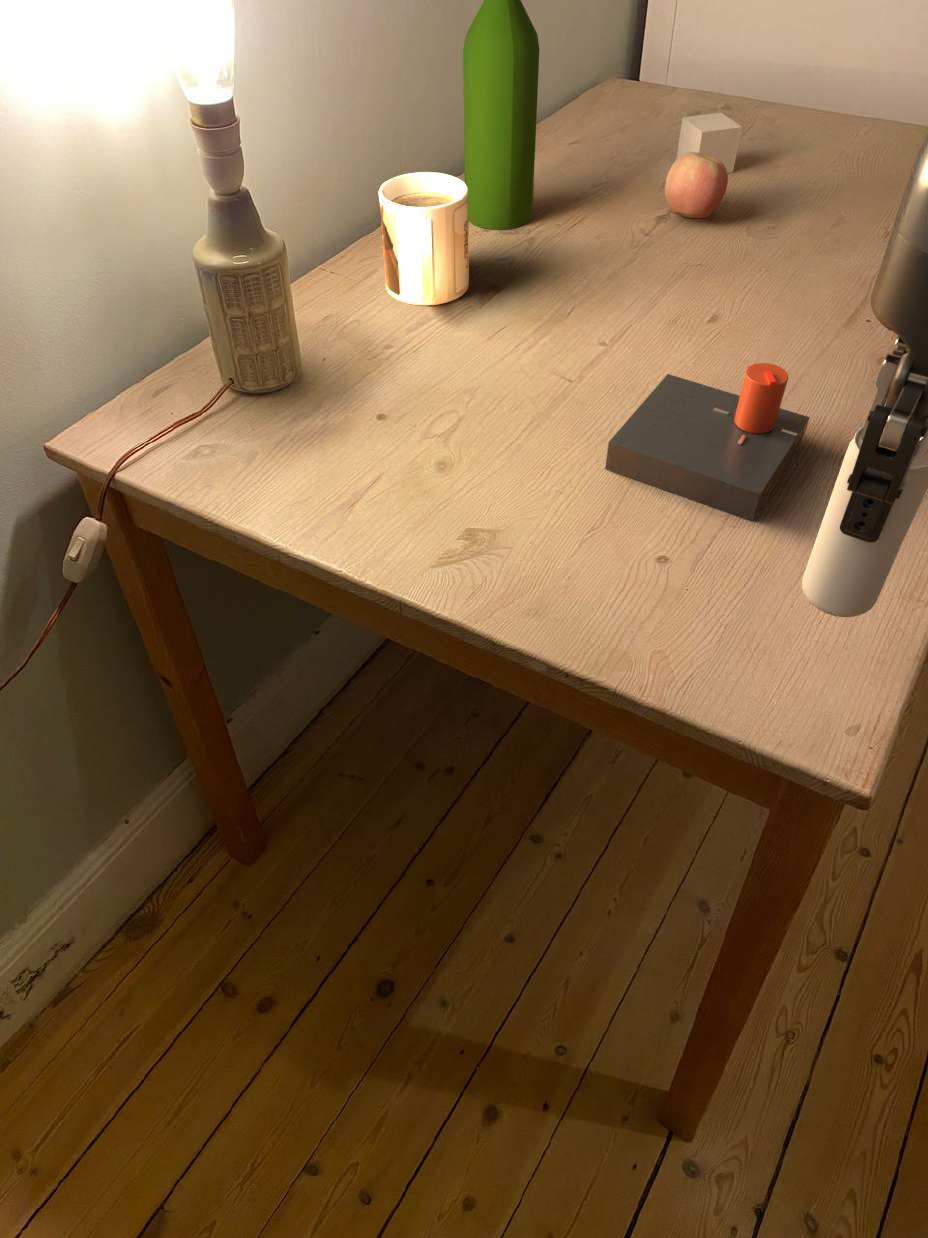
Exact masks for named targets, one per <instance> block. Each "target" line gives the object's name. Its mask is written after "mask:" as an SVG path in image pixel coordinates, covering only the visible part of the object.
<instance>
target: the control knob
mask: <svg viewBox="0 0 928 1238" xmlns="http://www.w3.org/2000/svg"><path fill="white" fill-rule="evenodd" d="M788 380H789V373H788V372H787V370H785V369H784V368H783V367H781V366H780V365H779V366H778V365H776V364H774V363H767V362H758V363H754V364H751V365H749V366H748V367H747V368H746V370H745V374H744V377H743V382H742V385H741V390H740V394H739V396H740V397H739V402H738V406H737V410H736V414H735V418H734V421H735V424H736V425H737V426H738V427H739V428H740V429H742V430H744V431H746V432H749V433H755V434H762V433H767V432H769V431H771V430H772V429H773V428H774V426H775V423H776V420H777V416H778V413H779V409H780V408H781V406H782V402H783V398H784V395H785V392H786V387H787V384H788Z"/></svg>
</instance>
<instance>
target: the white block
mask: <svg viewBox="0 0 928 1238" xmlns="http://www.w3.org/2000/svg"><path fill="white" fill-rule="evenodd" d="M742 128H743V127H742V126H741V125H740V124H738V123H737V122H735V121H734V120H733V119H731V118H729V116H727V115H725V114H724V113H722V112H715V113H707V114H698V115H697V114H696V115H690V116H689V115H688V116H682V120H681V125H680V133H679V139H678V146H677V153H676V159H675V161H676V160H677V159H678V158H679V157H680V156H682V155H684V154H686V153H689V152H697V153H704V154H708V155H710V156H712V157H714V158H716V159H718V160H720V161H721V162H722V163H723V164H724V166H725V167H726V170H727V174H730V173H734V169H735V164H736V163H735V162H736V159H737V153H738V148H739V143H740V138H741V134H742Z"/></svg>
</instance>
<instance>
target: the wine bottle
mask: <svg viewBox="0 0 928 1238" xmlns="http://www.w3.org/2000/svg"><path fill="white" fill-rule="evenodd" d="M539 42H540V41H539V35H538V33H537V30H536V28H535V26H534V24H533V22H532V20H531V19H530V16H529V14H528V12H527V10H526V8H525V6H524V4H523V2H522V0H482V3H481V4H480V7H479V8H478V10H477V12H476V14H475V16H474V18H473V20H472V22H471V24H470V26H469V28H468V30H467V31H466V34H465V38H464V43H463V49H462V70H463V71H462V74H463V75H462V76H463V77H462V78H463V85H462V86H463V170H464V171H463V172H464V173H463V175H464V180H463V182H464V183H465V184H466V185H467V187H468V214H469V223H470V224H472V225H473V226H476V227H479V228H482V229H487V230H494V231H496V230H499V231H502V230H503V231H504V230H511V229H516V228H519V227H521V226H524V225H525V224H527V223H528V222H530V220H531V219H532V216H533V212H534V211H533V207H534V187H535V186H534V184H535V165H536V164H535V163H536V141H537V140H536V139H537V116H538V115H537V114H538V95H539V92H538V91H539V69H540V68H539V67H540V43H539Z"/></svg>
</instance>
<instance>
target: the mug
mask: <svg viewBox="0 0 928 1238" xmlns="http://www.w3.org/2000/svg"><path fill="white" fill-rule="evenodd" d="M378 204H379V215H380V217H379V218H380V229H381V241H382V255H383V267H384V280H385V289H386V291H387V293H388V294H389V295H390V296H391V297H392V298H394V299H396V300H397V301H399V302H401V303H404V304H409V305H415V306H435V305H443V304H446V303H450V302H452V301H454V300H457V299H459V298H460V297H462V296H463V295H464V294H466V292H467V291H468V289H469V287H470V245H469V244H470V242H469V241H470V237H469V236H470V235H469V234H470V233H469V231H470V230H469V229H470V228H469V227H470V226H469V223H470V222H469V214H468V187H467V185H466V184H465V183H464V180H462V179H460V178H458V177H456V176H453V175H451V174H447V173H441V172H431V171H419V172H411V173H410V172H409V173H405V174H400V175H397V176H395V177H392V178H390V179H388V180H386V181H385V182H383V183H382V184H381V186H380V188H379V189H378Z"/></svg>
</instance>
